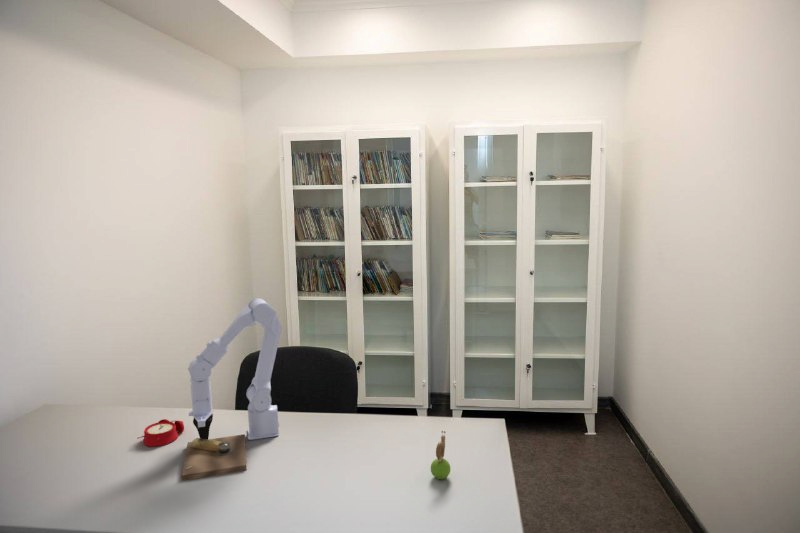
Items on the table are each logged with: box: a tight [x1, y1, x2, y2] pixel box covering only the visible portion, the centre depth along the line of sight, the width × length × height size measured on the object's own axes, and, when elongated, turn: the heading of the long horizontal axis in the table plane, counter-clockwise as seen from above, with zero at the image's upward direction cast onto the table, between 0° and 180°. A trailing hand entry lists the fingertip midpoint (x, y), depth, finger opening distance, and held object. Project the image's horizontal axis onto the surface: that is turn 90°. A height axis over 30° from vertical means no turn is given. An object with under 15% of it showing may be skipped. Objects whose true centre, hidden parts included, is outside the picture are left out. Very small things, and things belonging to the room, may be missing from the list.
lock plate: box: [181, 434, 247, 481], centre depth 158 cm, size 17×20×2 cm
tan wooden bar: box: [191, 437, 230, 454], centre depth 160 cm, size 12×3×2 cm, turn 72°
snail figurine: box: [430, 430, 451, 480], centre depth 145 cm, size 5×6×12 cm
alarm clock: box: [137, 418, 185, 448], centre depth 172 cm, size 10×6×15 cm
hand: (204, 439), depth 165 cm, fingers closed
